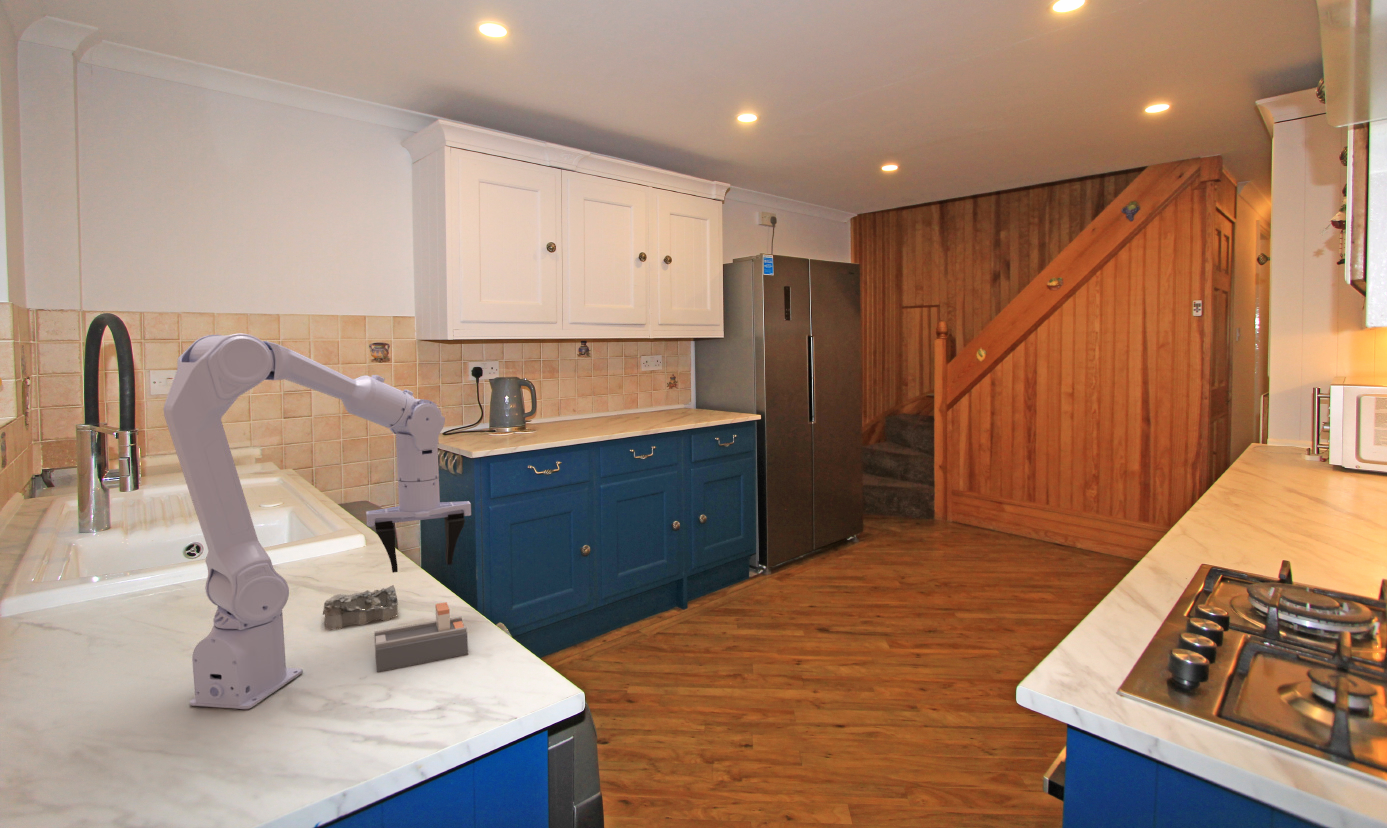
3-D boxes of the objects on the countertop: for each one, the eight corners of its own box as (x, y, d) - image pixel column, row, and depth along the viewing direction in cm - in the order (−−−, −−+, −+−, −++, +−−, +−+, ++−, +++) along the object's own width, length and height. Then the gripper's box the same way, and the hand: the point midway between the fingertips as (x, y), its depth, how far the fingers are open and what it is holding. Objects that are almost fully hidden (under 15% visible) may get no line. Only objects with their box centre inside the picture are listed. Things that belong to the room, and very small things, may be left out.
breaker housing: (376, 672, 89) (375, 646, 89) (375, 653, 94) (374, 629, 94) (468, 654, 94) (467, 629, 94) (461, 637, 100) (460, 614, 99)
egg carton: (322, 634, 102) (320, 607, 102) (325, 616, 109) (323, 591, 108) (399, 621, 107) (397, 595, 106) (397, 604, 113) (396, 581, 113)
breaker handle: (438, 632, 94) (437, 611, 93) (436, 624, 96) (435, 603, 96) (450, 630, 94) (449, 609, 94) (447, 622, 97) (446, 602, 97)
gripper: (365, 487, 95) (370, 582, 96) (473, 478, 101) (476, 566, 103) (364, 479, 101) (368, 567, 102) (465, 471, 108) (468, 554, 109)
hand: (422, 566), depth 103 cm, fingers open, 7 cm apart
